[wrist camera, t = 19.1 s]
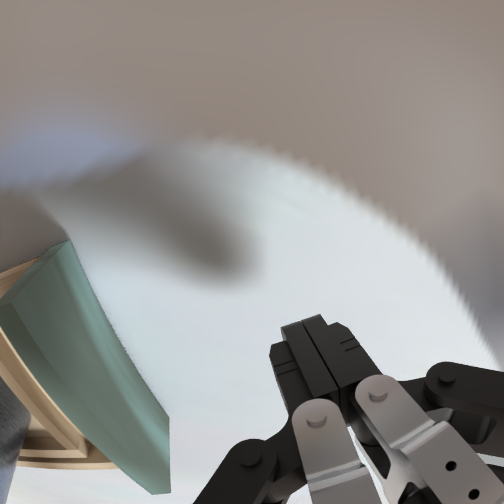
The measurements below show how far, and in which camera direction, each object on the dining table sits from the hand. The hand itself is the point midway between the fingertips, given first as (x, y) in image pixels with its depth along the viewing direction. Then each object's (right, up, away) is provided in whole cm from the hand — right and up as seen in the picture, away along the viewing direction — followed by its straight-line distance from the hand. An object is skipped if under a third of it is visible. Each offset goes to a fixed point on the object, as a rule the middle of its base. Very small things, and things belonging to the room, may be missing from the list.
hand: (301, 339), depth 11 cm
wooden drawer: (-16, -4, +1) cm, 16 cm away
